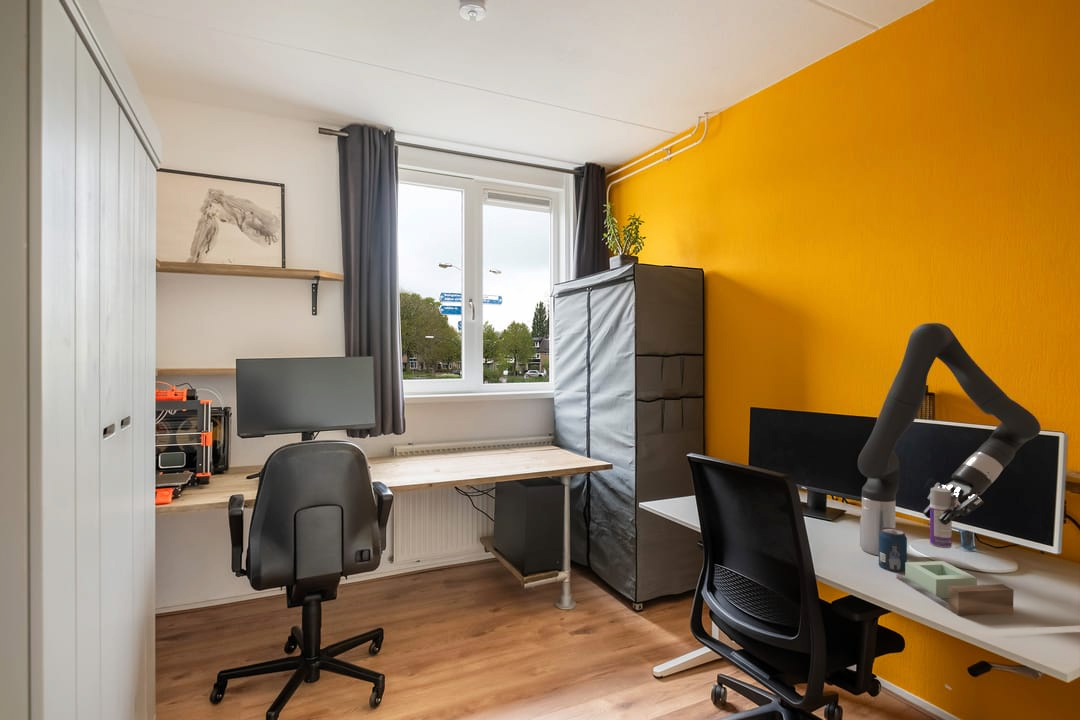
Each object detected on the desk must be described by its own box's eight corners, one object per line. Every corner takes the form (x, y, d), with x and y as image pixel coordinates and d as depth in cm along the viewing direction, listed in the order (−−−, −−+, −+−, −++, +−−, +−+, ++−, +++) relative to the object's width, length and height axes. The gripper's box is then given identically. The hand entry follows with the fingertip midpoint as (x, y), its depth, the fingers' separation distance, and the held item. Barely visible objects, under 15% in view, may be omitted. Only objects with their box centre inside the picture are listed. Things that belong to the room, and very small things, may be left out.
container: (930, 540, 150) (930, 486, 150) (952, 544, 147) (952, 489, 147) (929, 545, 147) (929, 490, 146) (951, 549, 144) (951, 492, 143)
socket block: (905, 580, 153) (905, 562, 152) (943, 578, 153) (943, 561, 153) (935, 598, 142) (936, 579, 141) (976, 596, 142) (976, 577, 142)
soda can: (893, 565, 165) (894, 526, 165) (912, 575, 158) (913, 534, 158) (873, 567, 164) (873, 527, 164) (891, 577, 157) (891, 535, 157)
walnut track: (896, 581, 154) (896, 557, 154) (943, 580, 155) (944, 555, 155) (963, 623, 131) (964, 594, 131) (1019, 621, 132) (1020, 592, 132)
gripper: (946, 458, 154) (905, 502, 154) (991, 469, 140) (945, 518, 139) (964, 476, 154) (923, 520, 154) (1010, 489, 140) (965, 538, 140)
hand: (934, 519), depth 147 cm, fingers closed on container, 4 cm apart
